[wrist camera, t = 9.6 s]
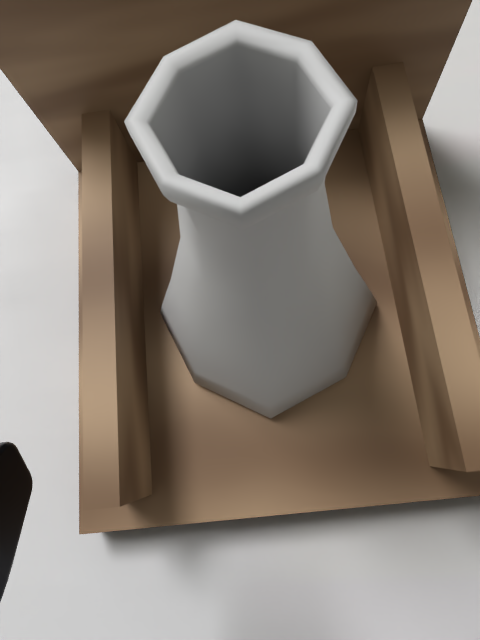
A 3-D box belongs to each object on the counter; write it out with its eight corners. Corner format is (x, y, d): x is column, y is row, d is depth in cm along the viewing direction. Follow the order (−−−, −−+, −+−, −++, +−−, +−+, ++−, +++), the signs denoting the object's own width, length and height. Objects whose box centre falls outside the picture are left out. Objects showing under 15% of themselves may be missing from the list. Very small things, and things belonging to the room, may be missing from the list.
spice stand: (497, 486, 15) (1078, 608, 4) (98, 525, 16) (-321, 711, 5) (406, 120, 19) (569, -318, 8) (93, 168, 20) (-141, -167, 9)
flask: (412, 302, 15) (619, 74, 6) (272, 458, 15) (247, 488, 5) (261, 185, 17) (231, -135, 8) (128, 317, 16) (-93, 139, 7)
